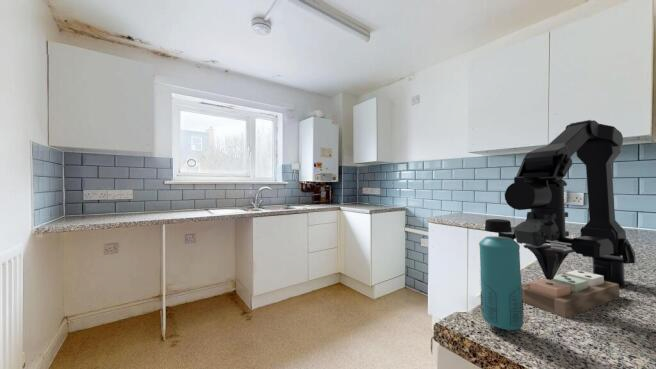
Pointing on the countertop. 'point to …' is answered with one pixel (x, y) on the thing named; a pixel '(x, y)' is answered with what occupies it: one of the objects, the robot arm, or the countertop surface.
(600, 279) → the two dot button
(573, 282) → the three dot button
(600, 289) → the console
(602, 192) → the robot arm
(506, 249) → the beverage bottle
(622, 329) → the countertop surface
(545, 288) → the one dot button
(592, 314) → the countertop surface
